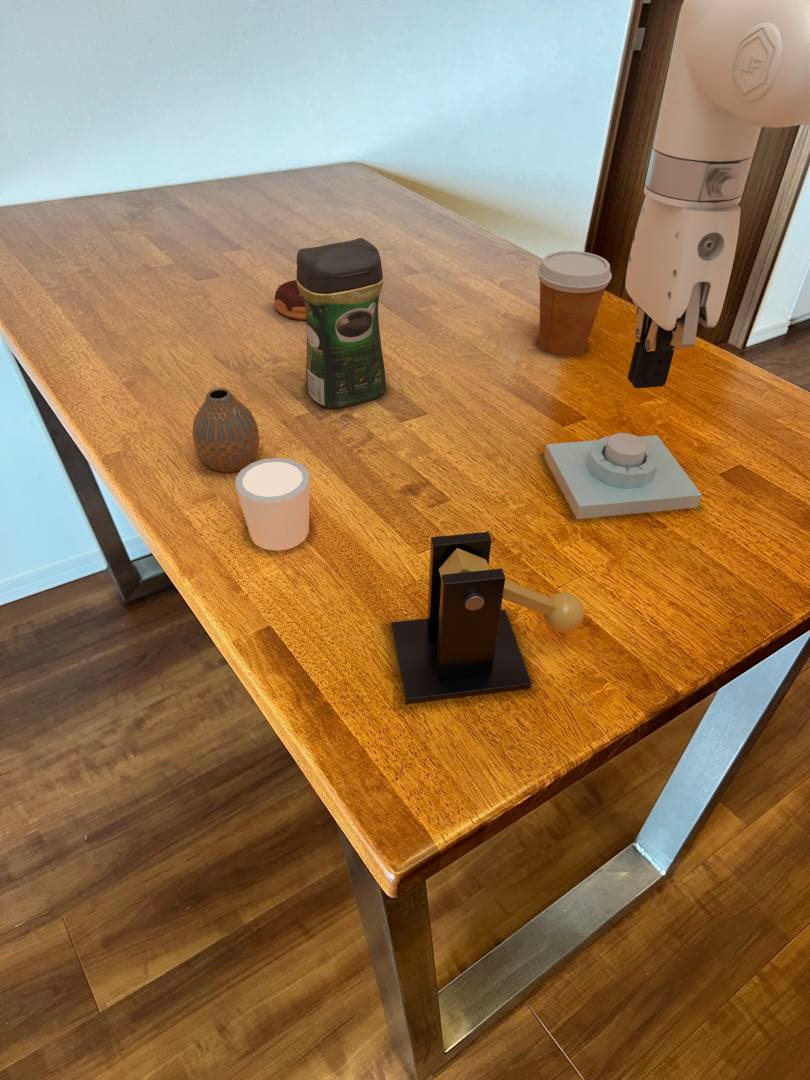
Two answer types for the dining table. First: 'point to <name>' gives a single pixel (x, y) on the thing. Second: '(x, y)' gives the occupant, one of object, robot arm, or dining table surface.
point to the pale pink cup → (275, 502)
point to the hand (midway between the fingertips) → (645, 383)
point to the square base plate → (619, 480)
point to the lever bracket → (459, 632)
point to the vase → (225, 432)
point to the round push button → (625, 450)
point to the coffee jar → (342, 322)
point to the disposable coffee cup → (570, 299)
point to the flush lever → (524, 594)
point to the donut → (290, 301)
